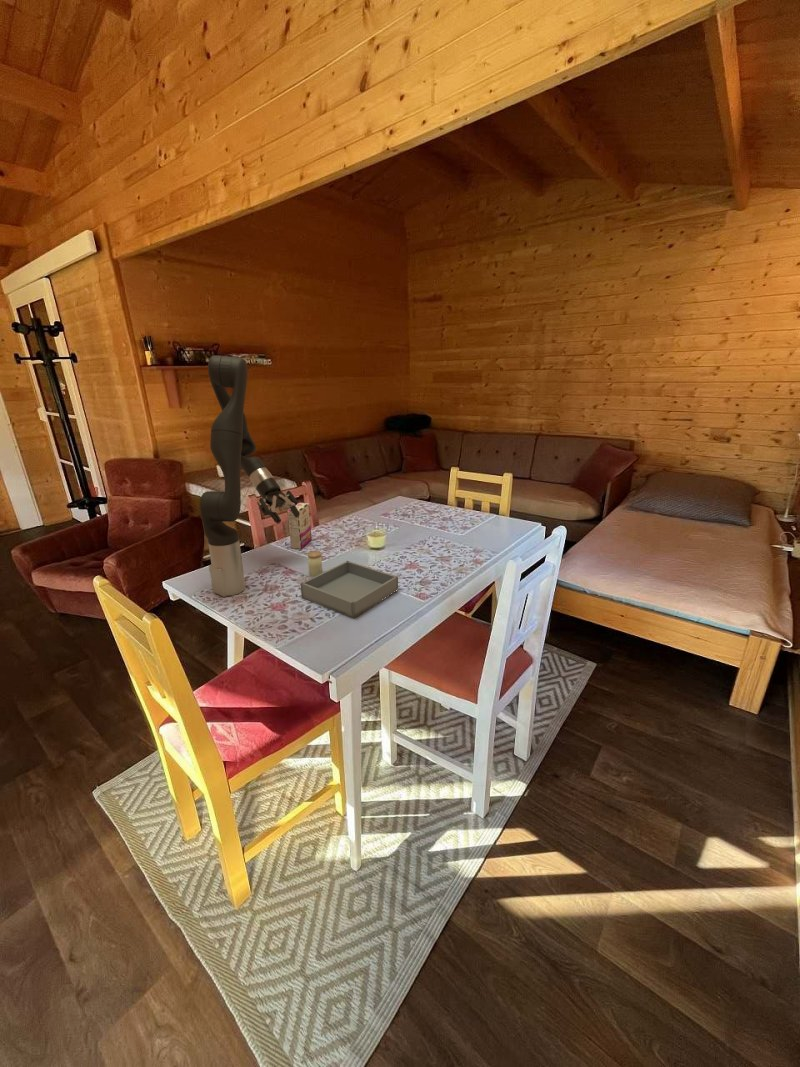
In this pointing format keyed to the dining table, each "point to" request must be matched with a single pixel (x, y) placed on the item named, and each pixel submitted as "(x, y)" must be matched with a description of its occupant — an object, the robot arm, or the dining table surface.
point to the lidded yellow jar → (315, 563)
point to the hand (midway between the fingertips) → (289, 519)
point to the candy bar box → (300, 526)
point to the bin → (349, 588)
